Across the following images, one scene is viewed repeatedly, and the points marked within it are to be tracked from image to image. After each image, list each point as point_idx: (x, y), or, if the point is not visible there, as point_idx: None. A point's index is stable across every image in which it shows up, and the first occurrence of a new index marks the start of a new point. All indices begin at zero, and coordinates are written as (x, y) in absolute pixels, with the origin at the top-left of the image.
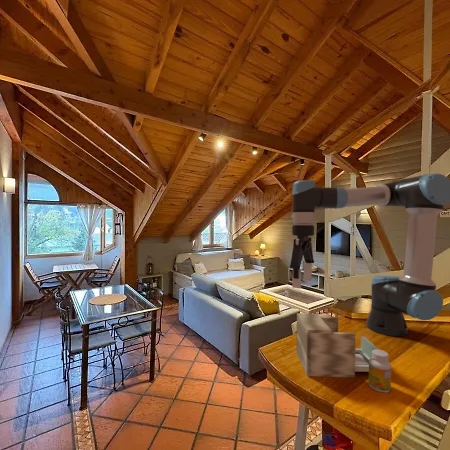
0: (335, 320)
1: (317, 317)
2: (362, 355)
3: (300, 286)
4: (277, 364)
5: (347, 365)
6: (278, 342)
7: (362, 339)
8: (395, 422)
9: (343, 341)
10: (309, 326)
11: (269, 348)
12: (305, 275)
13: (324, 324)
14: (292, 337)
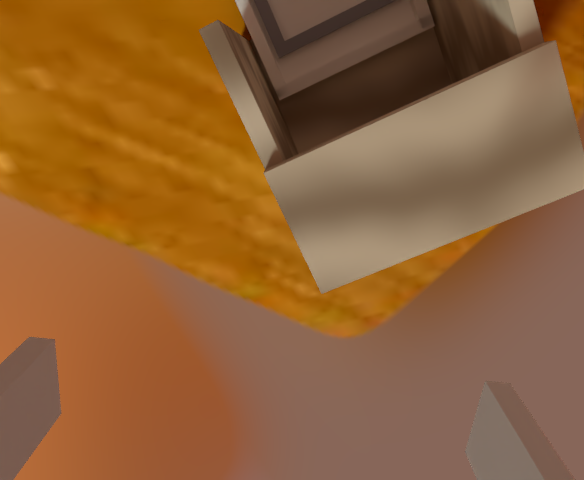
0: (231, 42)
1: (343, 159)
2: None
3: (514, 398)
4: (442, 262)
5: None
6: (261, 302)
7: None
8: None
9: None
10: (534, 184)
11: (331, 319)
12: (27, 440)
13: (463, 98)
14: (178, 261)
